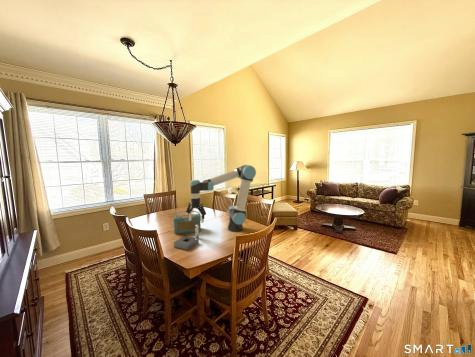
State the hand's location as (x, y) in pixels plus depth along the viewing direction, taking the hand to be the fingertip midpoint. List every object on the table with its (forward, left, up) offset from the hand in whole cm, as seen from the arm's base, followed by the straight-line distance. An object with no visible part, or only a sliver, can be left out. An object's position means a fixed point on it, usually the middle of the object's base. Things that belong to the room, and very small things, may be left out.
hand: (196, 221), depth 175 cm
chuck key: (0, 0, -15) cm, 15 cm away
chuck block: (-1, +15, -15) cm, 21 cm away
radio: (+19, -10, -16) cm, 26 cm away
